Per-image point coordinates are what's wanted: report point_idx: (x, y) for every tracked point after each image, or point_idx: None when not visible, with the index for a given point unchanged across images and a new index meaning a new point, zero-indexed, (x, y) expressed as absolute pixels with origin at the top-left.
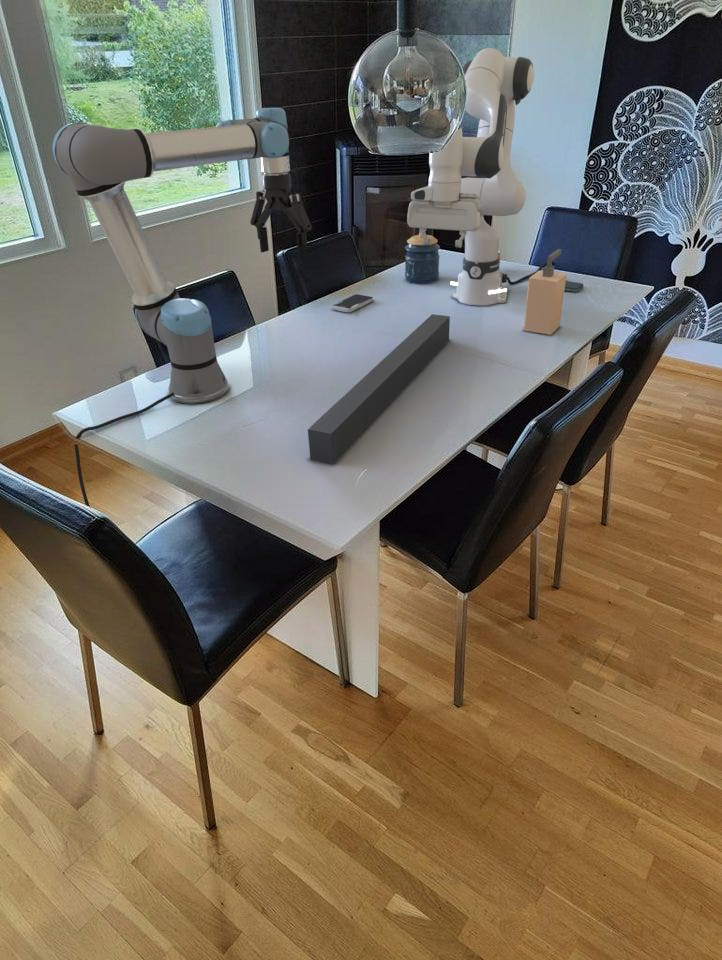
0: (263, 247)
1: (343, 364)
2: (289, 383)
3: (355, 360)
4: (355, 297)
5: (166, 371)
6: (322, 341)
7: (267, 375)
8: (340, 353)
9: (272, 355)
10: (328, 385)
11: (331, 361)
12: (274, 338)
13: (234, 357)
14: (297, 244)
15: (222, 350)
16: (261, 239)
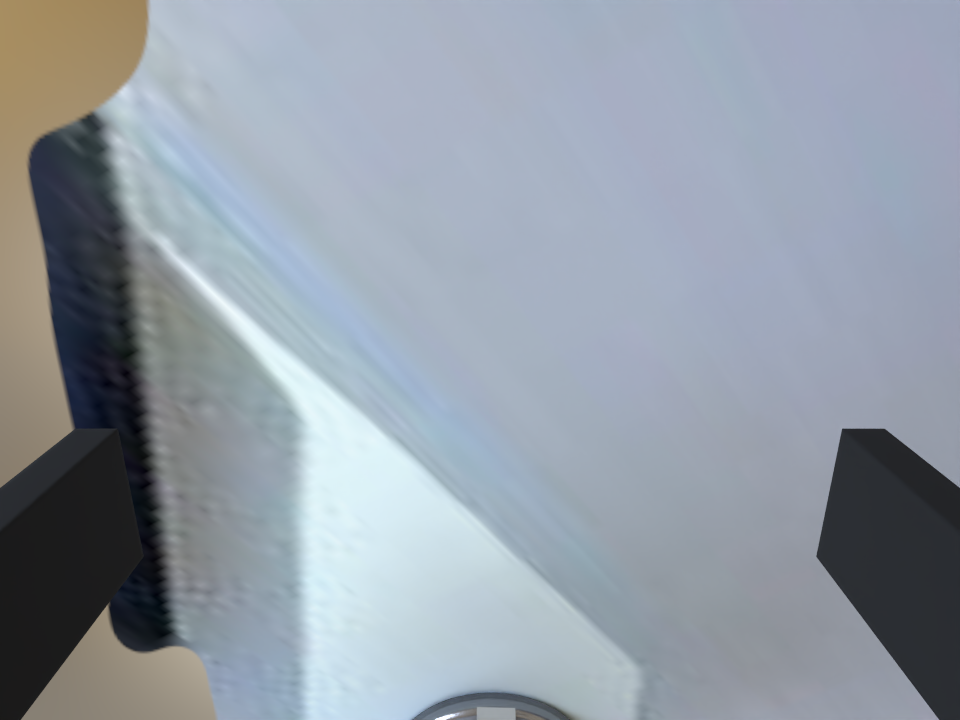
0: (102, 577)
1: (899, 351)
2: (758, 597)
3: (940, 284)
4: None
5: (243, 713)
6: (645, 143)
7: (630, 582)
8: (826, 243)
9: (514, 421)
10: None
11: (826, 349)
12: (366, 239)
13: (371, 514)
14: (950, 716)
15: (258, 481)
16: (22, 713)
